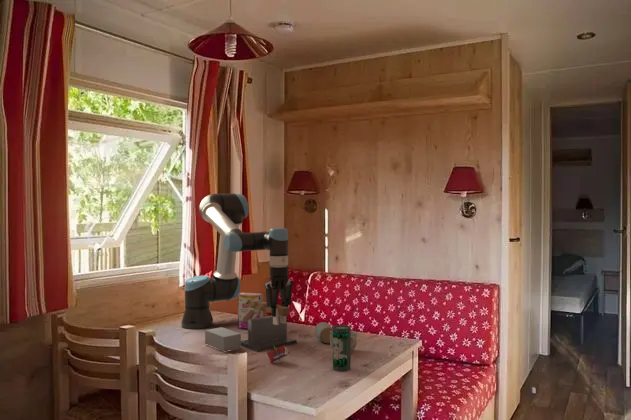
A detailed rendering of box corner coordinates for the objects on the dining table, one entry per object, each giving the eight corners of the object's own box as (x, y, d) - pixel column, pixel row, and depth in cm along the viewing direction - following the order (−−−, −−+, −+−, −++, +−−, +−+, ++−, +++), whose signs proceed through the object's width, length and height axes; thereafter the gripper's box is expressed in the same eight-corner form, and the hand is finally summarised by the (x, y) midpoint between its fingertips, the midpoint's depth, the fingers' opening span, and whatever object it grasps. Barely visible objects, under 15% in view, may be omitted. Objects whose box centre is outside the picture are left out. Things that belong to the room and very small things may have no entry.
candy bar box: (237, 328, 251) (237, 294, 250) (241, 326, 255) (241, 292, 255) (259, 330, 248) (259, 295, 247) (263, 327, 252) (263, 293, 252)
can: (329, 368, 191) (329, 327, 191) (341, 365, 195) (341, 324, 195) (342, 372, 187) (342, 329, 186) (353, 368, 191) (353, 327, 191)
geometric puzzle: (265, 360, 194) (278, 342, 195) (261, 355, 200) (274, 337, 201) (280, 371, 195) (293, 352, 197) (276, 365, 202) (289, 347, 203)
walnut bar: (247, 306, 232) (247, 299, 232) (253, 305, 234) (253, 299, 234) (283, 316, 212) (283, 308, 212) (289, 315, 214) (289, 307, 214)
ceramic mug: (319, 345, 222) (320, 326, 222) (314, 340, 230) (314, 322, 230) (343, 343, 226) (344, 325, 226) (337, 338, 234) (337, 321, 233)
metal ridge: (238, 345, 223) (238, 317, 222) (277, 336, 236) (277, 311, 235) (257, 352, 212) (257, 323, 212) (296, 343, 225) (296, 316, 225)
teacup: (325, 349, 216) (325, 329, 216) (350, 346, 220) (350, 327, 220) (339, 359, 203) (339, 338, 203) (365, 355, 207) (365, 335, 207)
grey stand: (205, 344, 224) (205, 330, 224) (221, 341, 229) (221, 327, 229) (223, 352, 212) (223, 337, 212) (240, 348, 217) (240, 333, 217)
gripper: (268, 268, 209) (268, 328, 209) (300, 265, 219) (300, 322, 220) (257, 266, 215) (257, 325, 215) (288, 263, 225) (289, 319, 225)
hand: (279, 323), depth 217 cm, fingers closed on walnut bar, 3 cm apart
